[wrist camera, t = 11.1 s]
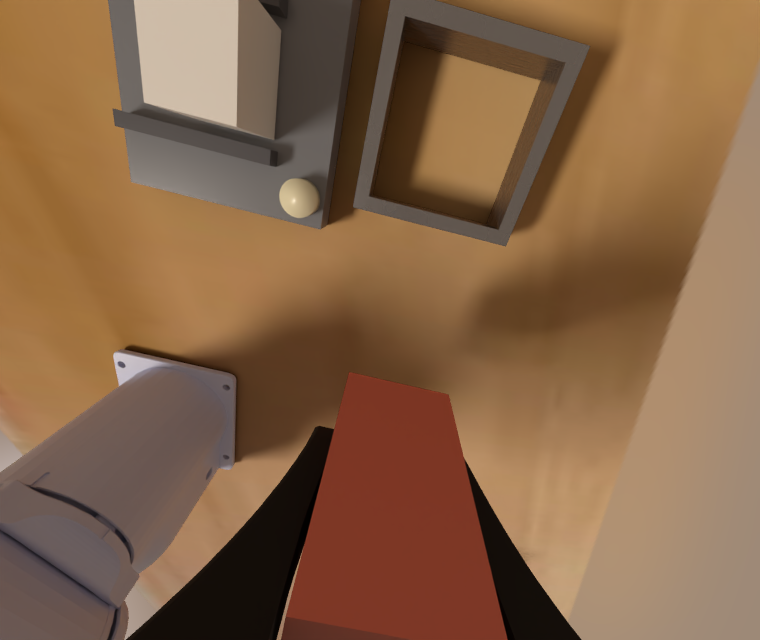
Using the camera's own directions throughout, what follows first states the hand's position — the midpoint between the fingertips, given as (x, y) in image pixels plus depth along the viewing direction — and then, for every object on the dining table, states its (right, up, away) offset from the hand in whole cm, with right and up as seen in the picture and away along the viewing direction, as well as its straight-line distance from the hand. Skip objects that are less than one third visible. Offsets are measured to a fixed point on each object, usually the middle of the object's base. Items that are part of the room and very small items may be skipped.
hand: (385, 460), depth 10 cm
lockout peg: (0, +1, +2) cm, 2 cm away
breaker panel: (-6, +16, +3) cm, 17 cm away
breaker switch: (-6, +15, +1) cm, 16 cm away
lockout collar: (+3, +13, +3) cm, 14 cm away
